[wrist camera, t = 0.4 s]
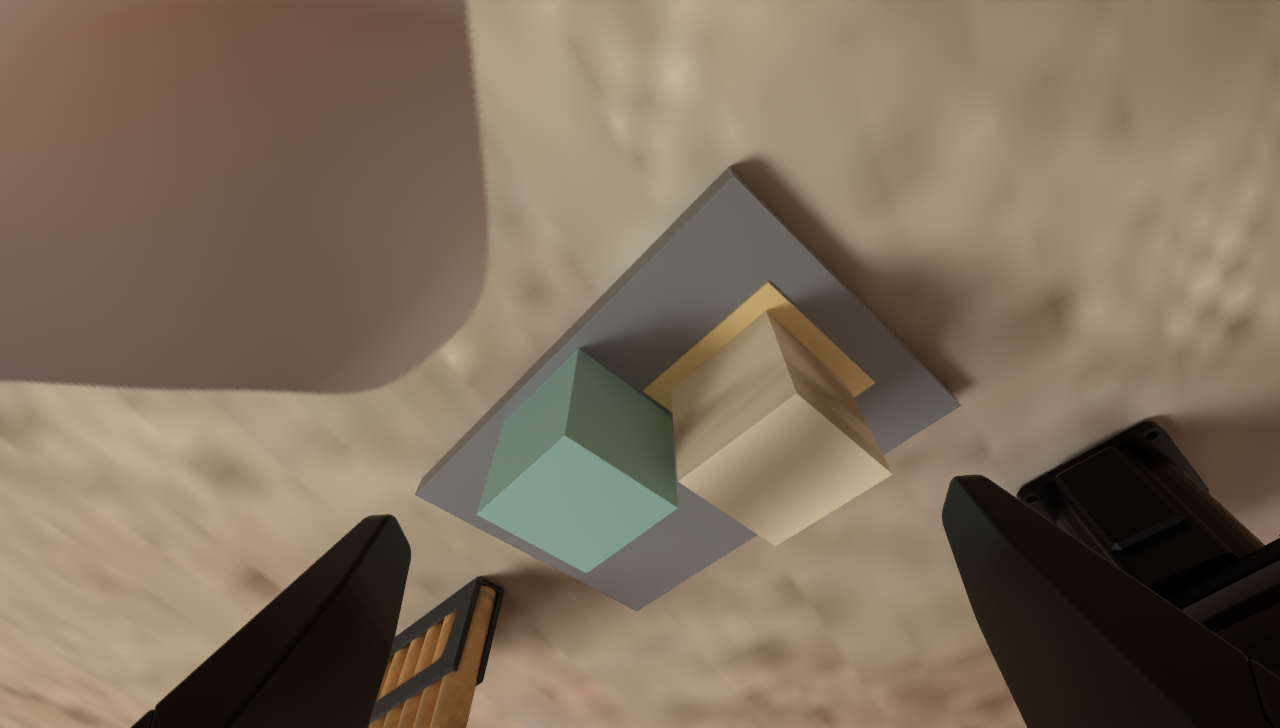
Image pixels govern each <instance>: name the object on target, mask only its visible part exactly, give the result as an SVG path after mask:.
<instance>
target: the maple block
mask: <svg viewBox="0 0 1280 728" xmlns="http://www.w3.org/2000/svg"><path fill="white" fill-rule="evenodd" d="M671 398H672V411H673V424H674V437H675V450H676V463H677V476H678V482H679V483H681V484H682V485H684V486H685V487H687V488H688V489H690V490H691V491H693V492H694V493H696V494H697V495H699V496H700V497H702V498H703V499H705V500H706V501H708V502H709V503H711V504H712V505H714V506H715V507H717V508H718V509H720V510H721V511H723V512H724V513H726V514H727V515H729V516H730V517H732V518H733V519H735V520H736V521H738V522H739V523H741V524H742V525H744V526H745V527H747V528H748V529H750V530H751V531H753V532H754V533H756V534H757V535H759V536H760V537H762V538H763V539H765V540H766V541H768V542H769V543H771V544H772V545H774V546H777V545H778V544H780V543H782V542H783V541H785V540H787V539H788V538H790V537H791V536H793V535H795V534H796V533H798V532H800V531H801V530H803V529H804V528H806V527H808V526H809V525H811V524H813V523H814V522H816V521H818V520H819V519H821V518H822V517H824V516H826V515H827V514H829V513H831V512H832V511H834V510H835V509H837V508H839V507H840V506H842V505H844V504H845V503H847V502H849V501H850V500H852V499H853V498H855V497H857V496H858V495H860V494H862V493H863V492H865V491H866V490H868V489H870V488H871V487H873V486H875V485H876V484H878V483H880V482H881V481H883V480H884V479H886V478H888V477H889V476H891V475H893V474H892V472H891V470H890V468H889V466H888V464H887V462H886V460H885V458H884V456H883V454H882V452H881V450H880V448H879V446H878V444H877V442H876V440H875V438H874V437H873V435H872V433H871V431H870V429H869V427H868V425H867V423H866V421H865V419H864V417H863V415H862V413H861V411H860V409H859V407H858V405H857V403H856V401H855V399H854V397H853V395H852V393H851V391H850V389H849V387H848V385H847V383H845V382H844V381H843V380H842V379H841V378H840V377H839V376H838V375H837V374H836V373H834V372H833V371H832V370H831V369H830V368H829V367H828V366H827V365H826V364H824V363H823V362H822V361H821V360H820V359H819V358H818V357H817V356H816V355H815V354H813V353H812V352H811V351H810V350H809V349H808V348H807V347H806V346H805V345H803V344H802V343H801V342H800V341H799V340H798V339H797V338H796V337H795V336H794V335H792V334H791V333H790V332H789V331H788V330H787V329H786V328H785V327H784V326H782V325H781V324H780V323H779V322H778V321H777V320H776V319H775V318H774V317H773V316H771V315H770V314H769V313H768V312H767V311H764V312H763V313H762V314H761V315H760V316H758V317H757V318H756V319H755V320H754V321H753V322H751V323H750V324H749V325H748V326H747V327H745V328H744V329H743V330H742V331H741V332H739V333H738V334H737V335H736V336H735V337H734V338H732V339H731V340H730V341H729V342H728V343H726V344H725V345H724V346H723V347H722V348H721V349H719V350H718V351H717V352H716V353H715V354H713V355H712V356H711V357H710V358H709V359H707V360H706V361H705V362H704V363H703V364H702V365H700V366H699V367H698V368H697V369H696V370H694V371H693V372H692V373H691V374H690V375H688V376H687V377H686V378H685V379H684V380H683V381H681V382H680V383H679V384H678V385H677V386H675V387H674V388H673V389H672V390H671Z"/></svg>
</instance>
